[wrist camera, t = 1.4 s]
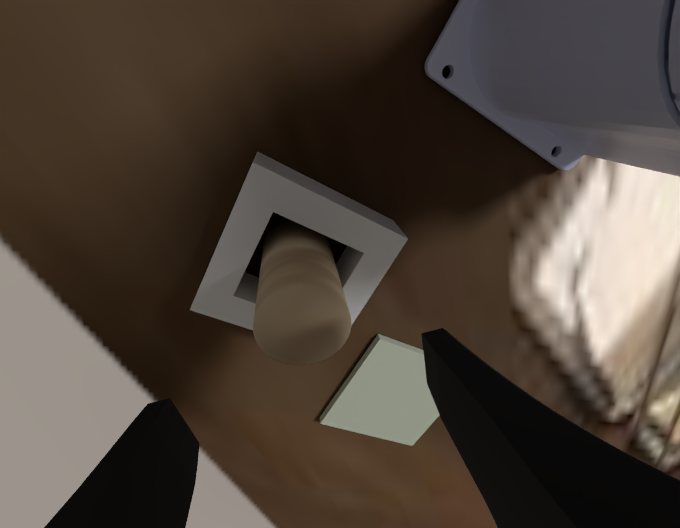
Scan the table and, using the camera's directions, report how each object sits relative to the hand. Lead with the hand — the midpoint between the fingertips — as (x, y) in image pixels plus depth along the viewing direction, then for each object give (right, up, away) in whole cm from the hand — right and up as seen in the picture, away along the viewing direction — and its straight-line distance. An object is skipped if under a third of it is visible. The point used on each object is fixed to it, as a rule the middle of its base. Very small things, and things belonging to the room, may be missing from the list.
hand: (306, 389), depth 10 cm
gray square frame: (-1, +4, +8) cm, 9 cm away
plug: (-1, +4, +8) cm, 9 cm away
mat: (+5, -6, +14) cm, 16 cm away
